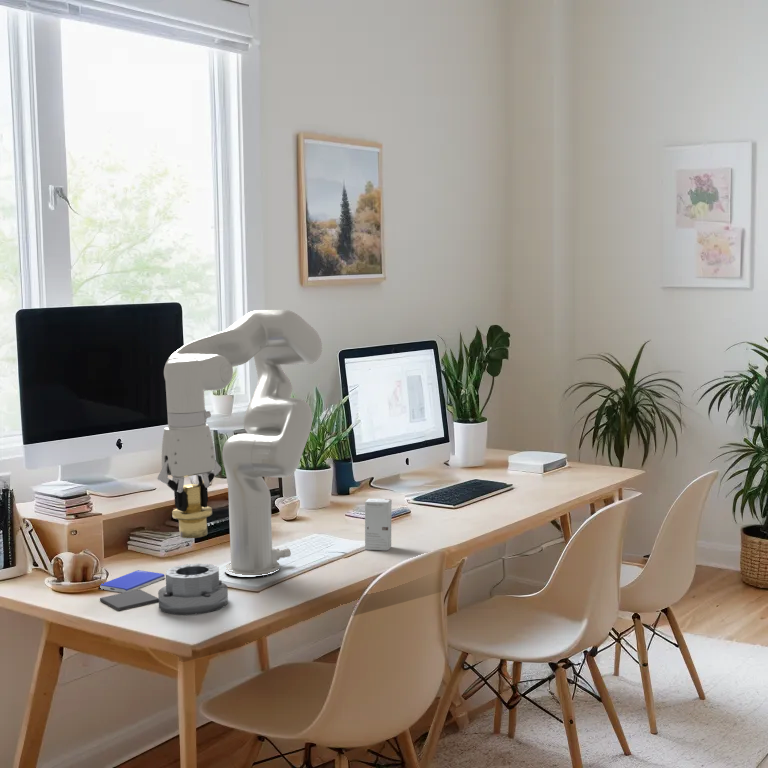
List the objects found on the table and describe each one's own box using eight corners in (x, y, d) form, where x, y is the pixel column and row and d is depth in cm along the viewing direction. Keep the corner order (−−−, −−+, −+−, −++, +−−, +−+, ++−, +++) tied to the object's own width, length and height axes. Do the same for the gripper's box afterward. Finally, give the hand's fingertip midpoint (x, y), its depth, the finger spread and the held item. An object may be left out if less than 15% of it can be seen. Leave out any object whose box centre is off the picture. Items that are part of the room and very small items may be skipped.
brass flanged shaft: (201, 527, 213) (198, 480, 212) (220, 534, 207) (217, 486, 206) (166, 534, 208) (163, 486, 207) (185, 542, 202) (182, 492, 201)
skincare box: (364, 550, 249) (363, 501, 247) (368, 545, 253) (367, 497, 252) (389, 551, 247) (388, 502, 246) (392, 546, 252) (391, 498, 251)
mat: (140, 592, 217) (139, 589, 217) (159, 601, 210) (159, 598, 210) (100, 600, 212) (99, 597, 212) (118, 610, 205) (118, 607, 205)
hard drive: (136, 569, 232) (97, 584, 221) (164, 573, 228) (126, 588, 217) (137, 576, 232) (98, 591, 221) (165, 580, 228) (126, 595, 217)
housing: (207, 589, 218) (205, 557, 217) (240, 604, 207) (239, 571, 207) (147, 603, 209) (145, 570, 209) (178, 619, 198) (177, 584, 198)
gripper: (214, 413, 213) (218, 498, 215) (140, 423, 203) (146, 512, 205) (232, 416, 207) (236, 504, 209) (157, 427, 197) (163, 519, 199)
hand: (191, 507), depth 207 cm, fingers closed on brass flanged shaft, 4 cm apart
